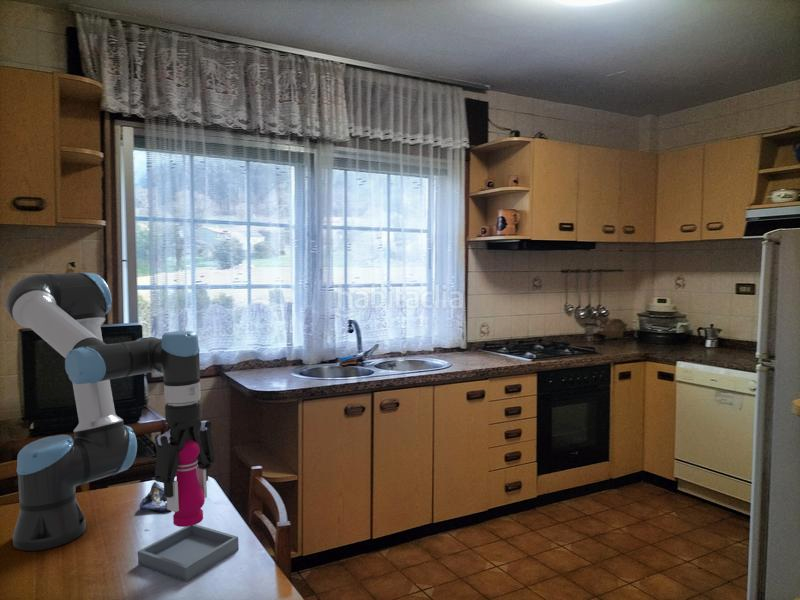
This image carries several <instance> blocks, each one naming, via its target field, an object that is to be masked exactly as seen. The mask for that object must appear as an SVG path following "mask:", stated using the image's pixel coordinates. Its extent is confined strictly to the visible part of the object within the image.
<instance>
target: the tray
mask: <svg viewBox="0 0 800 600" xmlns="http://www.w3.org/2000/svg"><path fill="white" fill-rule="evenodd" d="M239 545H240V544H239V536H237V535H233V534H231V533H226V532H224V531H221V530H216V529H213V528H210V527H205V526H202V525H199V524H195V525H192V526H187V527H181V528H180V529H178V530H177V531H174V532H173V533H171V534H169V535H166V536H164V537H163V538H161V539H158V540H157V541H155V542H153V543H151V544H149V545H147V546H145V547H143V548H142V549H141V548H140V549H139V550H138V551H137V561H138V565H139V566H140V567H144V568H147V569H150V570H153V571H155V572H158V573H161V574H164V575H167V576H169V577H172V578H175V579H177V580H180V581H182V582H186V583H187V582H188V581H190V580H192V579H194V578H195V577H197V576H198V575H200V574H202V573H203V572H205V571H206V570H209V567H210V568H212V567H213V566H215V565H216V564H217V562H218V563H219V562H221V561H222V560H224V559H226V558H227V557H229V556H230V554H231V555H232V554H234V553H235V552H237V551H238V550H237V549H240V548H239ZM236 550H237V551H236ZM234 551H235V552H234ZM233 552H234V553H233ZM228 555H229V556H228ZM225 557H226V558H225ZM215 563H216V564H215Z"/></svg>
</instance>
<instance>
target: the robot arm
mask: <svg viewBox="0 0 800 600" xmlns="http://www.w3.org/2000/svg"><path fill="white" fill-rule="evenodd" d="M5 301H6V302H5V305H6V306H5V307H6V310H7V313H8V314H9V316H10V317H11V319H12V320H13V321H15V322H16V323H17V324H18V325H20V326H21V327H23V328H27V329H31V330H32V331H33V332H34V333H35V334H37V335H38V336H39V337H40V338H41V339H42V340H43V341H44V342H46V343H47V345H49V346H50V347H52V349H54V350H55V351H56V352H57V353H59V355H60V356H62V357H63V358H64V359H65V360H64V369H65V372H66V375H68V379H69V380H70V382H71V383H72V389H73V395H74V400H75V406H76V412H77V417H78V418H77V419H78V424H77V426H76V427H75V428H74V429H73V435H74V438H73V437H72V436H71V435H70V434H56V435H50V436H46V437H42V438H39V439H37V440H34V441H32V442H30V443H27V444H25V446H23V447H22V448H21V449H20V450H19V451H18V454H17V456H16V458H17V459H16V460H17V463H16V464H17V467H16V469H15V470H16V473H17V483H18V485H17V486H18V497H19V498H18V499H19V500H18V501H19V512H18V517H17V520H16V523H15V527H14V530H13V534H12V544H13V545H12V546H13V547H14V548H15V549H17V550H20V551H27V552H29V551H30V552H32V551H33V552H34V551H36V552H37V551H42V550H47V549H53V548H56V547H60V546H63V545H65V544H69V543H70V542H72V541H74V540H76V539H78V538H79V537H80V536H82V535H83V534H84V533H85V531H86V530H87V528H86V518H85V515H84V513H83V511H82V509H81V507H80V505H79V502H78V500H77V496H76V493H77V492H76V487H78V486H81V485H85V484H87V483H90V482H94V481H97V480H101V479H104V478H107V477H110V476H111V477H112V476H115V475H117V474H119V473H122V472H124V471H127V470H128V469H130V467H131V466H132V465H133V463H134V462H135V460H136V456H137V452H138V451H137V450H138V442H137V437H136V434H135V432H134V429H133V428H132V427H131V426H128V425H126V424H124V419H123V418H121V417H120V416H118V415H117V413H116V409H115V404H114V403H115V402H114V397H113V391H112V387H111V380H115V379H121V378H126V377H132V376H137V375H144V374H148V373H162V375H163V396H164V397H163V398H164V399H163V400H164V402H165V405H164V416H165V421H166V423H167V427H166V431H165V432H164V433H163V434H161V435H160V434H156V435H155V436H154V441H155V445H156V453H155V454H156V455H155V472H154V481H155V482H158V483H163V488H164V495H165V497H167V501H166V503H167V510H171V511H170V512H174V513H175V512H177V511H179V502H178V481H176V480H175V478H176V476H177V474H176V471H177V467H178V462H179V453H180V451H181V450H183V449H184V445H185V443H186V442H187V441H191V440H194V441H195V442H196V443H197V444H198V445H199V448H200V453H199V455H198V457H197V458H196V459H197V460H198V462H197V464H198V467H197V468H196V476H197V480H198V483H199V485H200V487H201V488H202V490H203V493H204V498H205V499H206V498H208V491H207V490H208V489H207V486H208V485H207V482H208V481H209V471H208V470H210V469H211V468H212V464H213V463H215V461H216V459H215V457H216V456H215V452H214V445H213V439H212V432H211V431H212V422H211V421H209V420H201V418H202V415H203V414H202V401H200V399H201V397H202V394H201V393H202V391H201V367H200V362H201V361H200V360H201V359H200V351H201V350H200V346H199V337H198V334H197V333H196V332H194V331H191V330H187V331H186V330H179V331H169V332H165V333H163V335H161V338H158V337H155V336H154V337H153V336H148V337H140V338H137V339H136V340H132V341H123V342H117V343H115V342H114V343H105V342H104V340H103V336H102V334H103V333H102V328H101V327H102V325H103V324H104V322H105V321H106V316H105V315H107V314H108V313H109V312H110V311H111V308H112V301H113V299H112V294H111V291H110V287H109V285H108V284H107V282H106V280H105V279H104V278H103V277H102V276H100V275H99V274H97V273H93V272H82V271H79V272H67V273H66V272H63V273H36V274H32V275H28V276H26V277H23V278H22V279H20V280H18V281H17V282H15V284H14V285H13V286H12V287H11V288H10V290H9V291H8V293H7V296H6V300H5ZM175 444H176V445H178V446H174V445H175Z"/></svg>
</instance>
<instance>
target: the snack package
mask: <svg viewBox="0 0 800 600" xmlns="http://www.w3.org/2000/svg"><path fill="white" fill-rule="evenodd" d="M150 488H151V489H150V491H149V492H148V493H147V495H145V497H144V498H142V500H141V502H140V504H139V510H140V511H143V510H153V511H154V512H155V513H160V514H161V513H165V512H172V511H171V510H167V497H165V495H164V487H162V486H161V485H160V484H158V483H157V481H155V482H153V483H152V485H151V487H150ZM162 503H164V505H161V504H162Z"/></svg>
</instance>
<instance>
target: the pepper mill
mask: <svg viewBox="0 0 800 600" xmlns="http://www.w3.org/2000/svg"><path fill="white" fill-rule="evenodd" d="M174 446H178V445H176V444H175V445H174ZM199 453H200V448H199V445H198V444H197V443H196V442H195V441H194V440H191V441H187V442H186V443H185V445H184V449H183V450H181V451H180V453H179V462H178V467H177V471H176V480H175V481H178V502H179V511H177V512H174V513H173V515H172V520H173V521H172V522H173V524H174V526H176V527H180V528H184V527H187V526H192V525H195V524H196V525H199V523H201V522H202V521H203V520H204V511H203V509H202V508H203V506H204V504H205V502H206V501H205V500H206V498H204V493H203V490H202V488H201V487H200V485H199V483H198V480H197V476H196V468H199V466H198V464H197V462H198V460H197V459H196V458H197V457H198V455H199Z"/></svg>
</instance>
